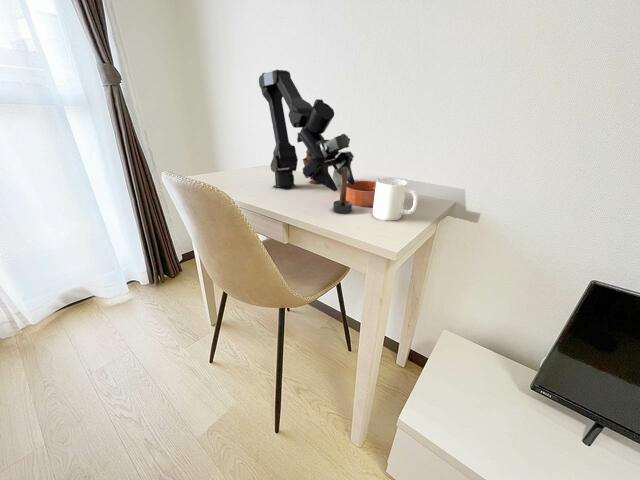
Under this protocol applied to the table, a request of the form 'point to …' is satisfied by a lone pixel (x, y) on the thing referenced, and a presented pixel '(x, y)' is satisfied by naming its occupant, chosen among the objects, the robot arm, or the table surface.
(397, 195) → the cup
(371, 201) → the bowl
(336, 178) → the salt shaker
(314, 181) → the ice cream bowl
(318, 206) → the table surface
